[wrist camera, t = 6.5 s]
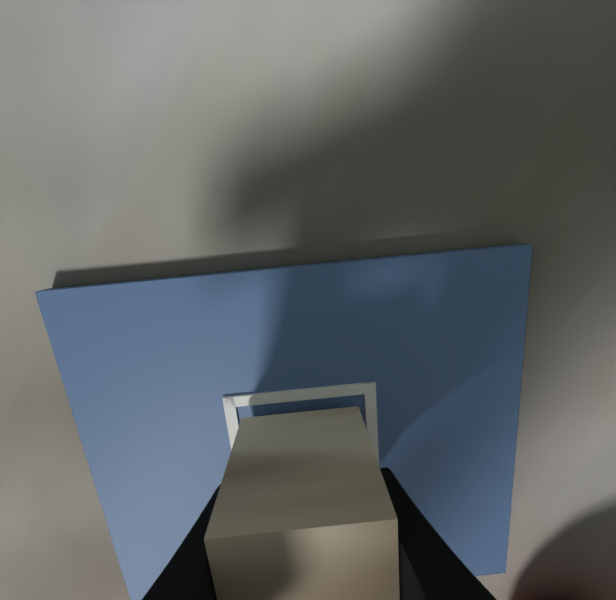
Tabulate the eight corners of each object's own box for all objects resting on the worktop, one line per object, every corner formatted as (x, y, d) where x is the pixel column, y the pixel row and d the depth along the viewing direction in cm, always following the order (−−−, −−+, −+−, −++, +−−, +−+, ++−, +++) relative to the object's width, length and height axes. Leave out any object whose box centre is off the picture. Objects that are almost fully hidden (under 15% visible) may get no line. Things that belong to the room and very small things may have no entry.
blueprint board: (496, 557, 13) (507, 575, 12) (142, 595, 13) (133, 615, 12) (519, 243, 10) (535, 244, 9) (50, 288, 10) (31, 292, 9)
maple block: (363, 501, 11) (401, 653, 7) (256, 512, 11) (233, 671, 7) (358, 406, 10) (397, 518, 6) (241, 417, 10) (204, 539, 6)
